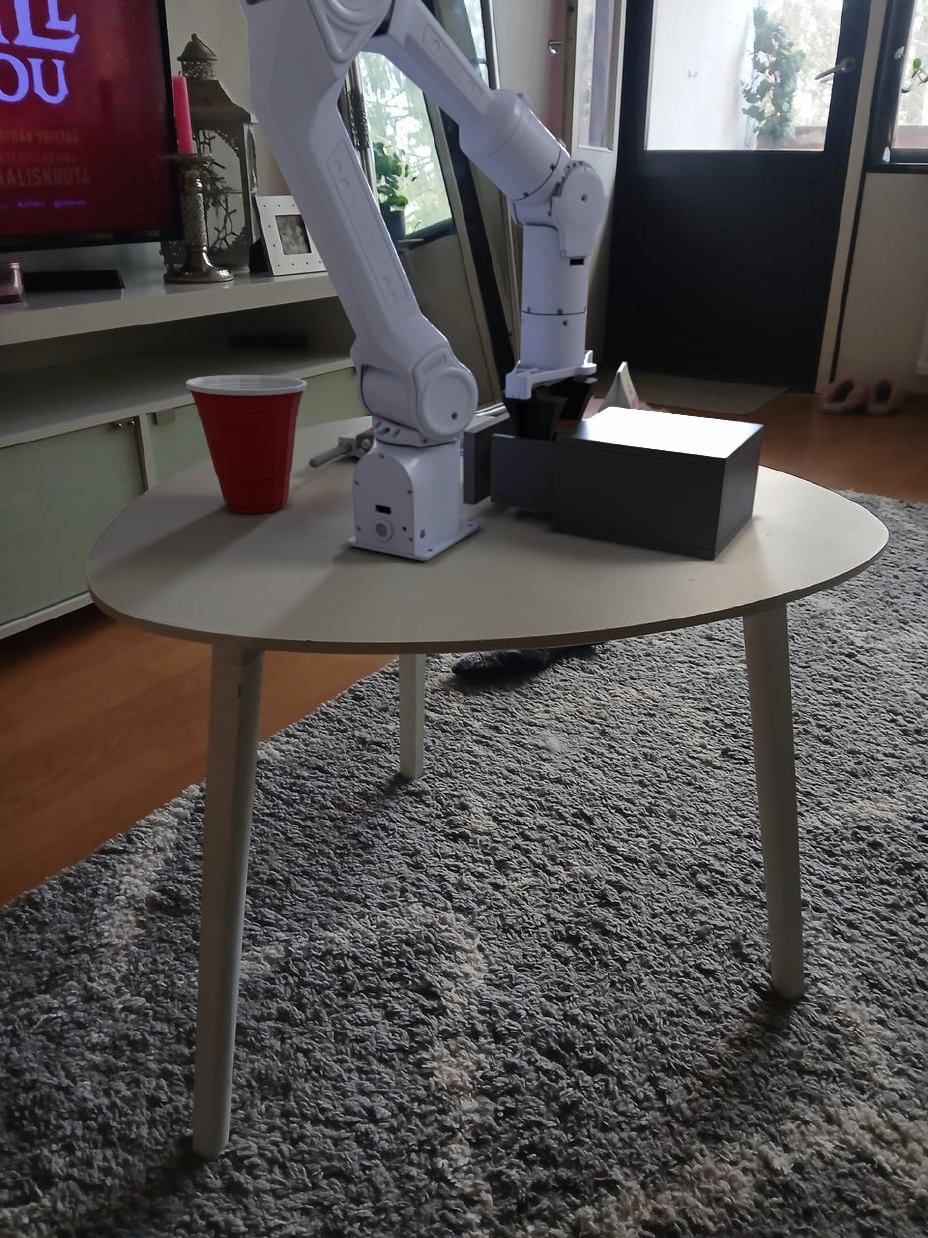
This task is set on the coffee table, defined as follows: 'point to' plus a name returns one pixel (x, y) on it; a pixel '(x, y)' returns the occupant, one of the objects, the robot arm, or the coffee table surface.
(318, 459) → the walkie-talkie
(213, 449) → the plastic cup
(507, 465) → the drawer
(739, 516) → the cabinet
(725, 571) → the coffee table surface
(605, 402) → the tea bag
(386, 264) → the robot arm
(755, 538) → the coffee table surface
